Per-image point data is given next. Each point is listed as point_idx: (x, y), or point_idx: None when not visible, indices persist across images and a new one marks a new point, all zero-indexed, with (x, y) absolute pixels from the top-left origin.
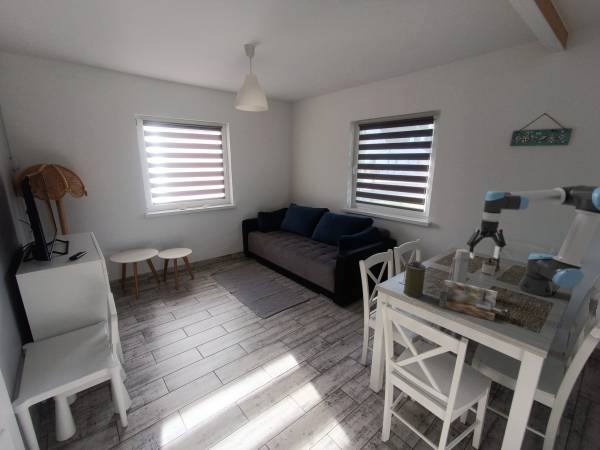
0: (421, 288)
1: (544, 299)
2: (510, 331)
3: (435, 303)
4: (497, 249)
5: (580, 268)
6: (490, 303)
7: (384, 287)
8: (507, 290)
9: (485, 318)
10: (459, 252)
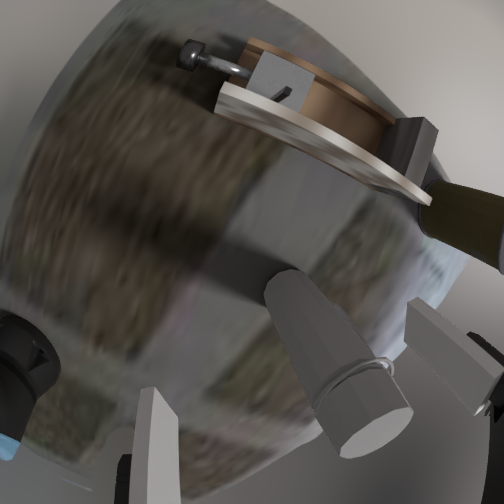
0: (450, 192)
1: (10, 292)
2: (218, 2)
3: None
4: (158, 488)
5: None
6: (249, 82)
7: None
8: (93, 336)
9: None
10: (407, 402)
